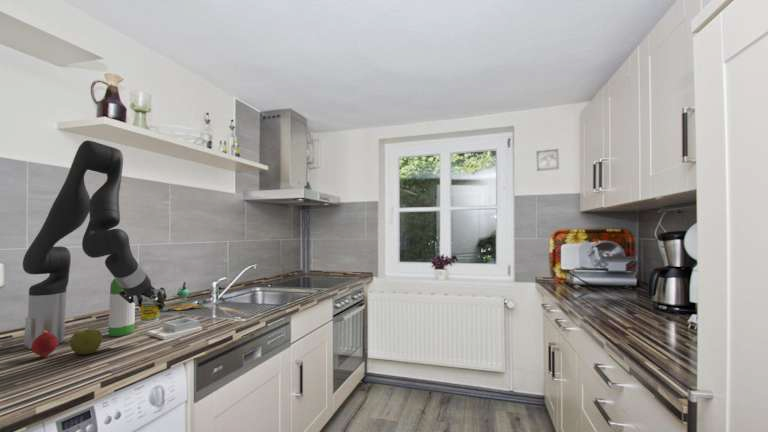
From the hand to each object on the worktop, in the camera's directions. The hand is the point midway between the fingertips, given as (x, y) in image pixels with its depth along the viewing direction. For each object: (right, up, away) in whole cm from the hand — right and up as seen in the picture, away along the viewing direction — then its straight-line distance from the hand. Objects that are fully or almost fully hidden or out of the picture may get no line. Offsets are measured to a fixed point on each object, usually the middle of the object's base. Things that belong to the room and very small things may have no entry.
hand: (153, 307), depth 121 cm
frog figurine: (-18, -15, +50) cm, 55 cm away
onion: (-23, -11, -16) cm, 30 cm away
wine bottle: (-17, -12, +7) cm, 22 cm away
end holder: (+2, -12, +10) cm, 16 cm away
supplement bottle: (0, -4, -2) cm, 5 cm away
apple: (-12, -11, -13) cm, 21 cm away
